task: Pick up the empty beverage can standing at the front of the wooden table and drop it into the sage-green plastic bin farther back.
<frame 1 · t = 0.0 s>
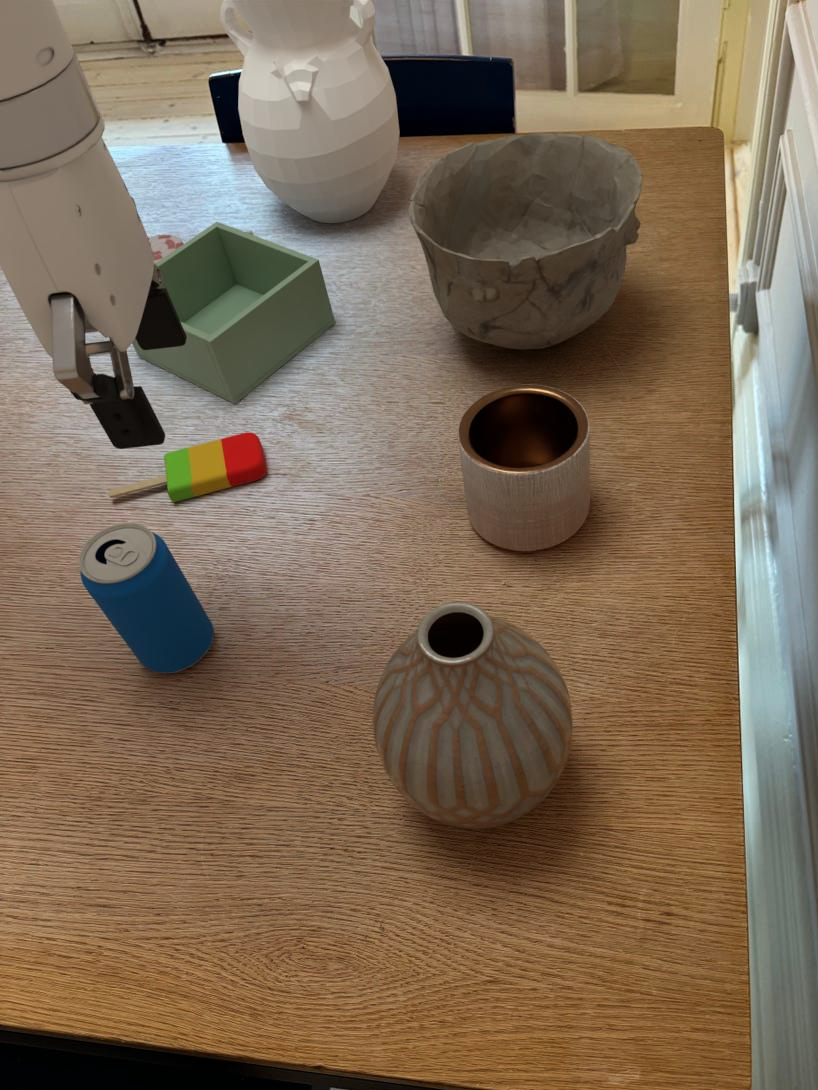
hand: (153, 392, 57), 22 cm above the table, tool pointing down, fingers open, 9 cm apart
beverage can: (179, 647, 74), on the table
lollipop: (194, 251, 109), on the table
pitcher: (339, 203, 112), on the table
planter: (528, 511, 79), on the table
vase: (483, 772, 64), on the table
bin: (236, 339, 97), on the table
popsicle: (190, 481, 85), on the table
bowl: (531, 327, 94), on the table
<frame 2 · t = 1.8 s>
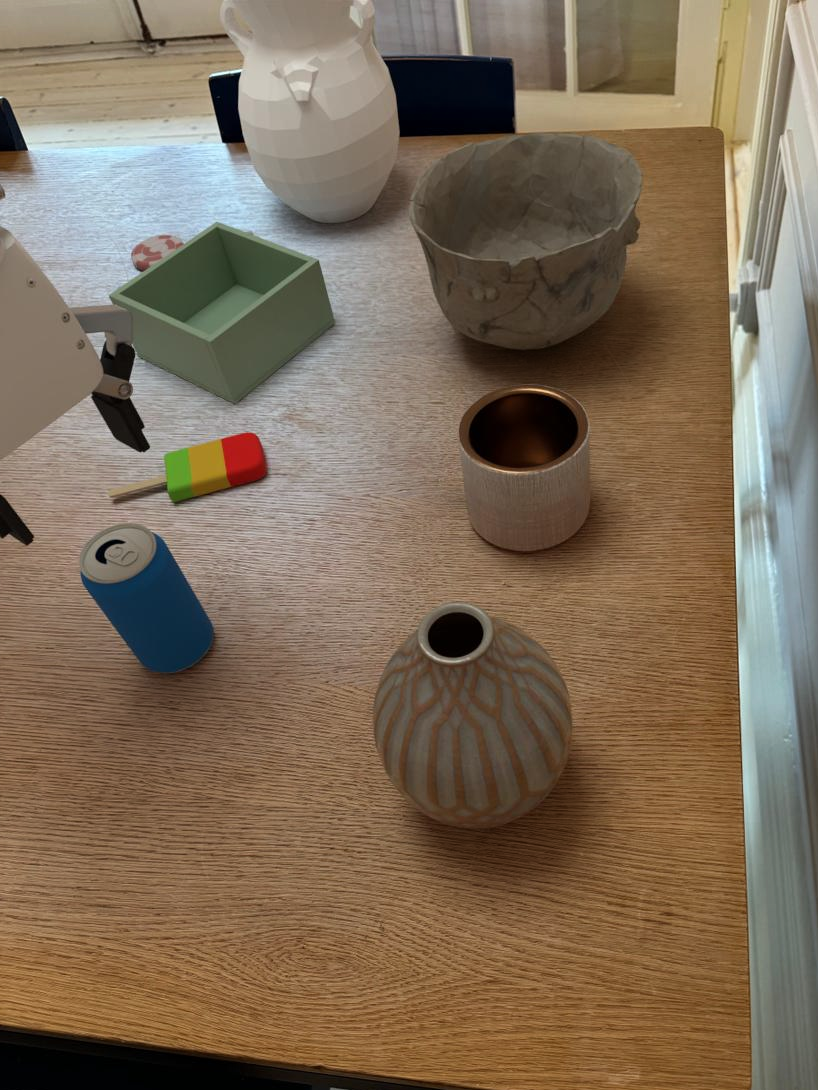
hand: (77, 487, 58), 19 cm above the table, tool pointing down, fingers open, 9 cm apart
nothing on the table moved.
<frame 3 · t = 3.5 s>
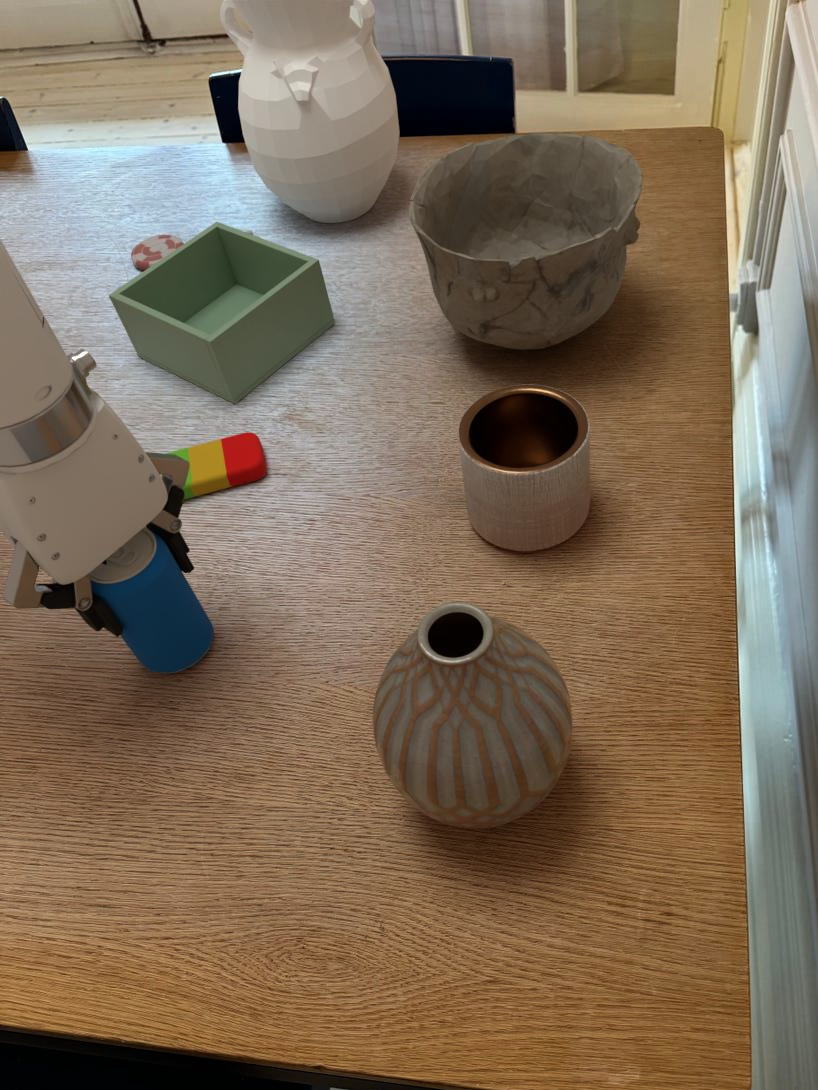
hand: (144, 593, 68), 7 cm above the table, tool pointing down, fingers closed on beverage can, 6 cm apart
beverage can: (179, 647, 74), on the table, touching gripper
everything else where it was.
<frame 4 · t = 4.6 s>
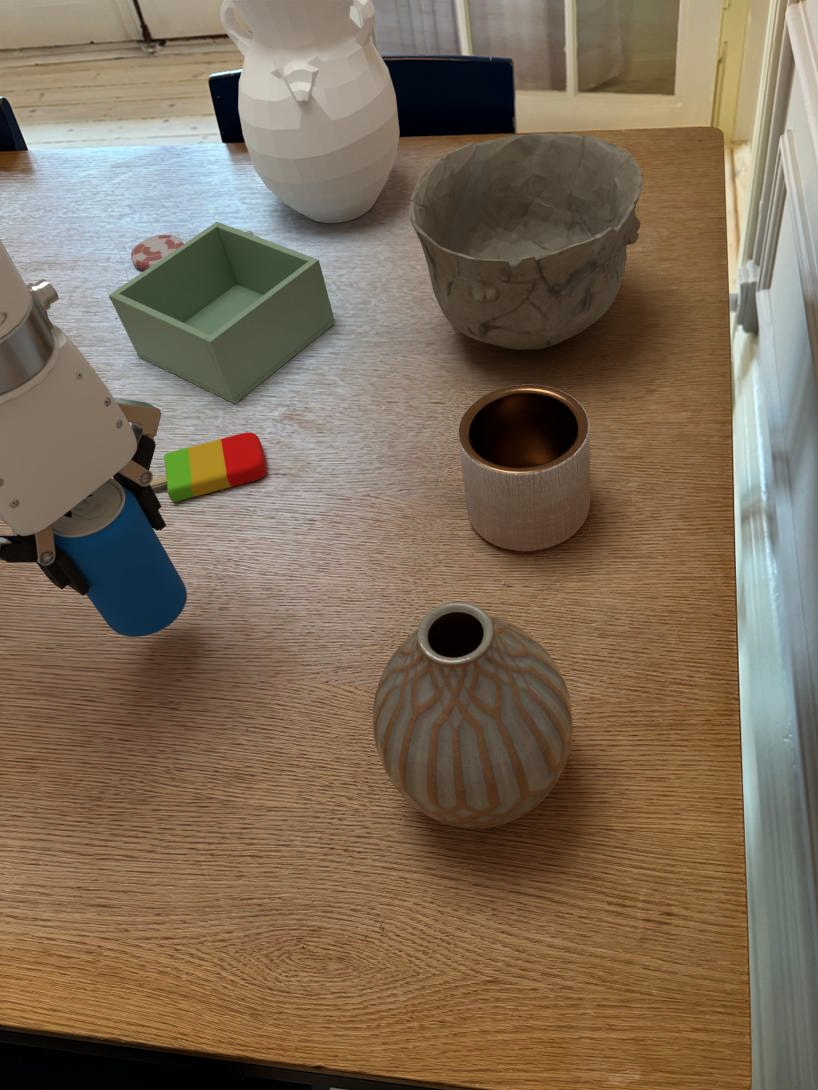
hand: (112, 551, 64), 12 cm above the table, tool pointing down, fingers closed on beverage can, 6 cm apart
beverage can: (150, 610, 70), point 5 cm above the table, touching gripper
everything else where it was.
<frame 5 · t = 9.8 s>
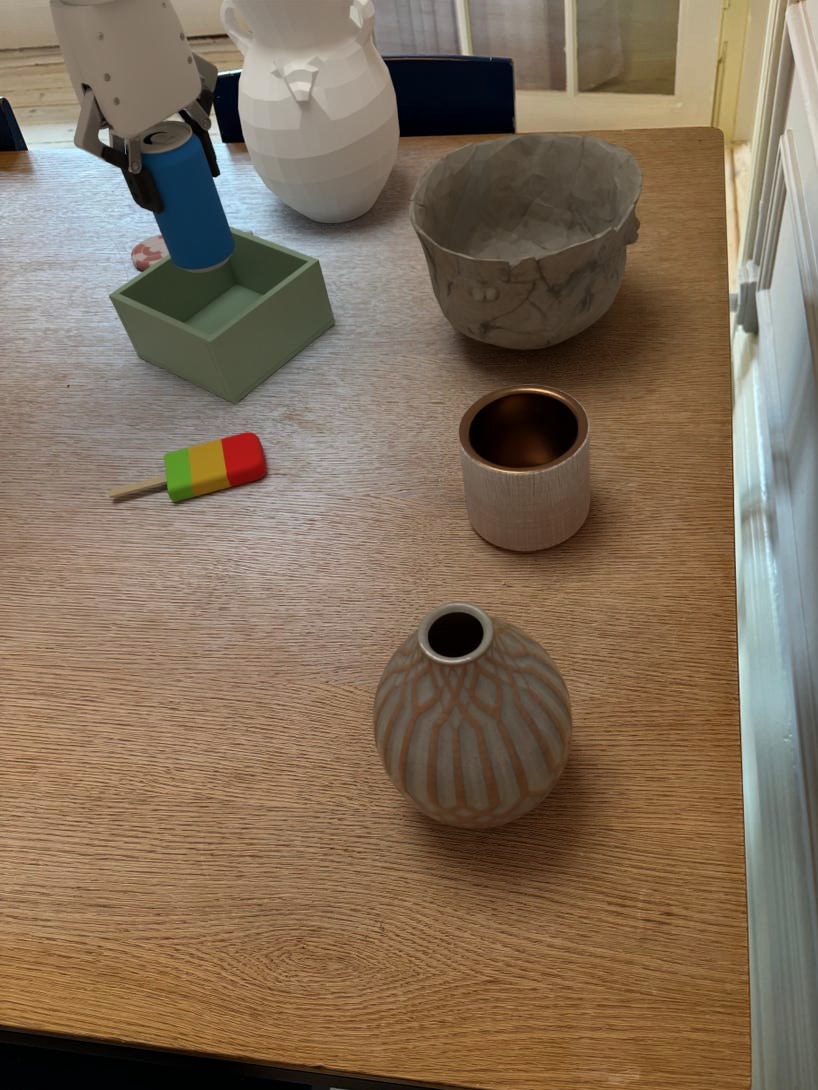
hand: (180, 189, 83), 17 cm above the table, tool pointing down, fingers closed on beverage can, 6 cm apart
beverage can: (206, 260, 89), point 10 cm above the table, touching gripper
everything else where it was.
when the fingers open (13 cm above the table, at t = 11.5 s): beverage can drops 5 cm, resting on bin.
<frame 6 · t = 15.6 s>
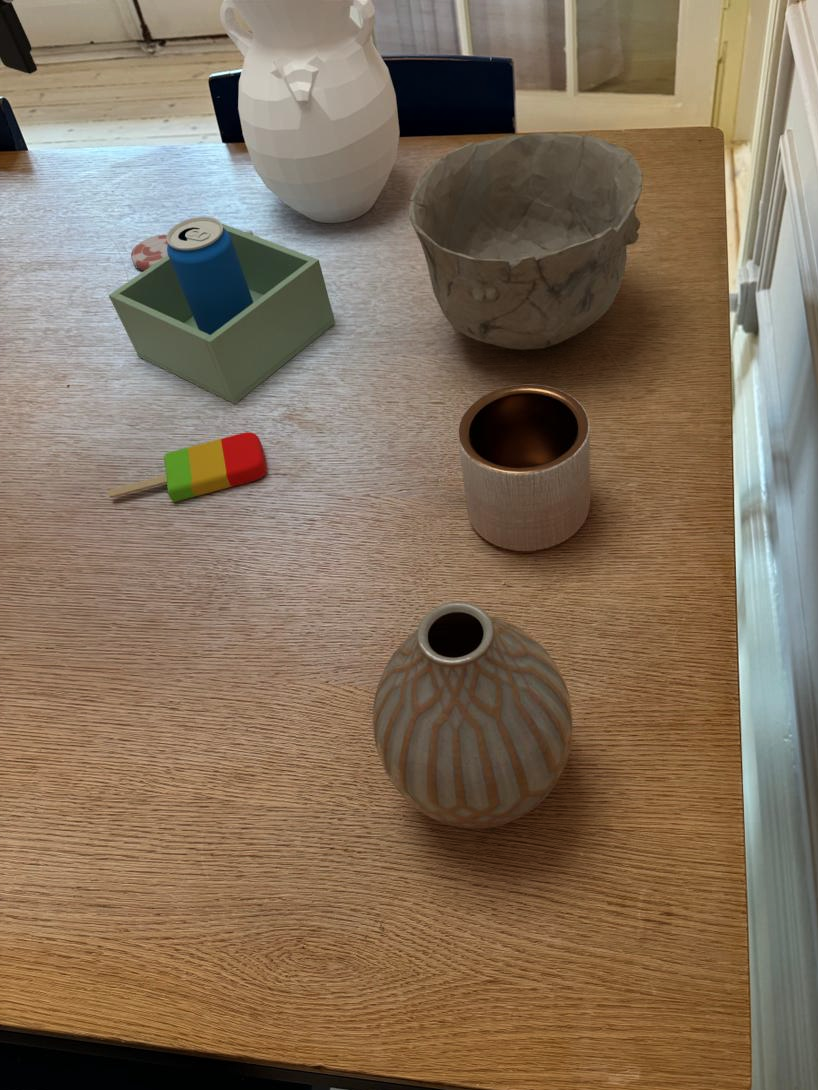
beverage can: (234, 337, 97), resting on bin
everything else where it was.
at the end: beverage can inside the target area in the bin (0.2 cm from its centre), point 0.4 cm above the bin's base; the gripper is holding nothing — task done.
